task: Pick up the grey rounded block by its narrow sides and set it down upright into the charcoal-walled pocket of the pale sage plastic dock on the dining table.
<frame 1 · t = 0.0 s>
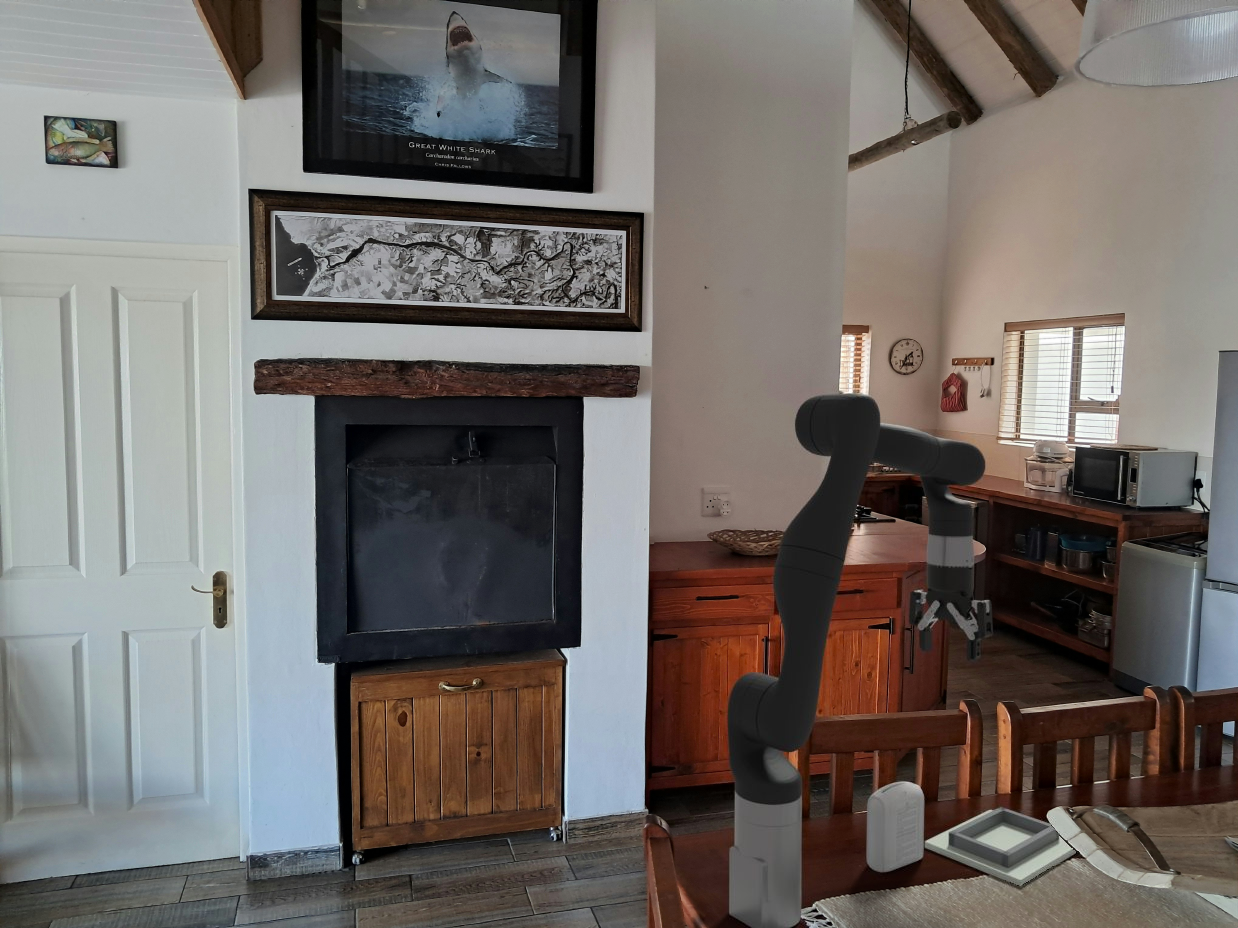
hand: (949, 656, 151), 29 cm above the table, tool pointing down, fingers open, 8 cm apart
grey rounded block: (895, 863, 139), on the table
dock: (1004, 847, 144), on the table
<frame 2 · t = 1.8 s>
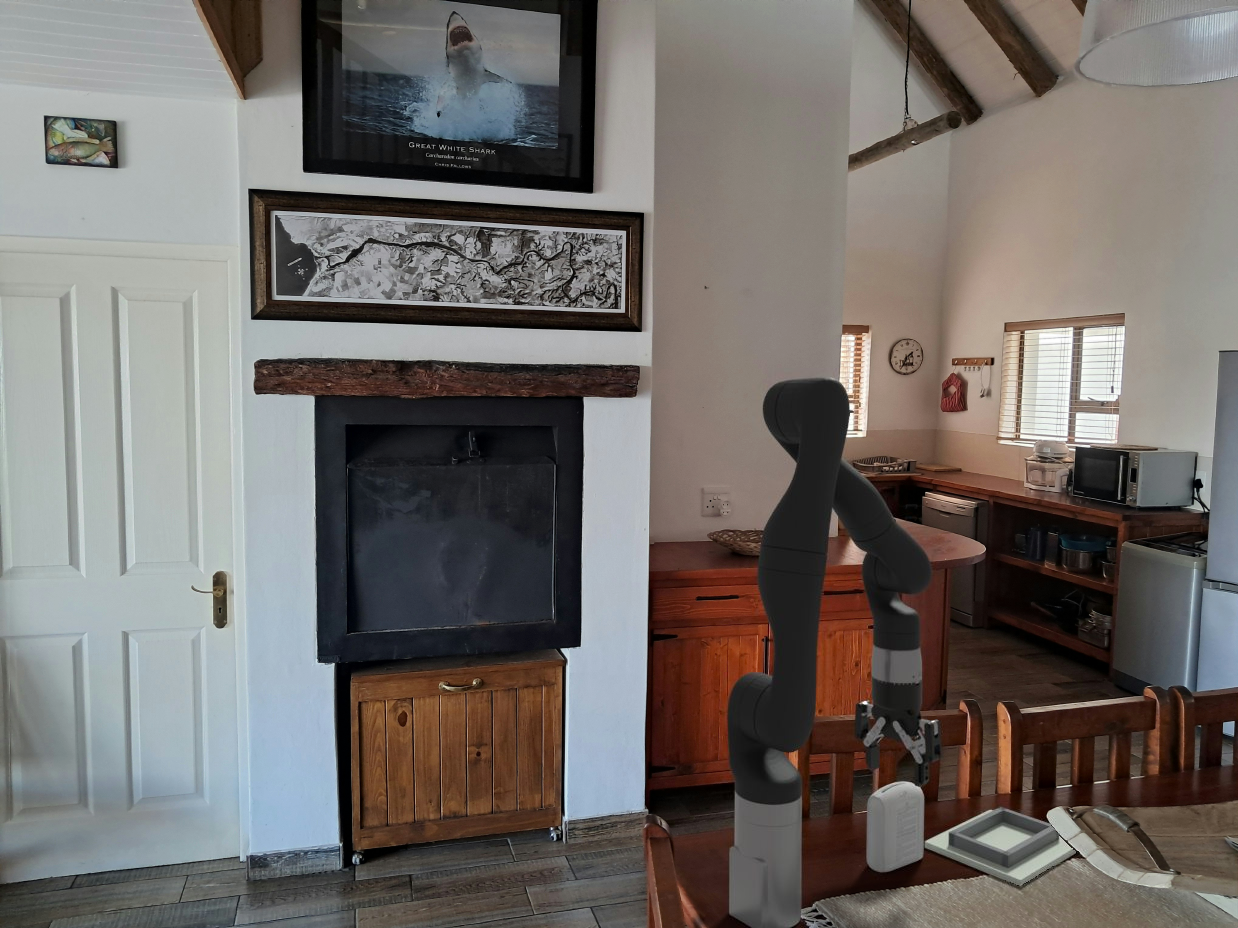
hand: (896, 776, 139), 13 cm above the table, tool pointing down, fingers open, 8 cm apart
nothing on the table moved.
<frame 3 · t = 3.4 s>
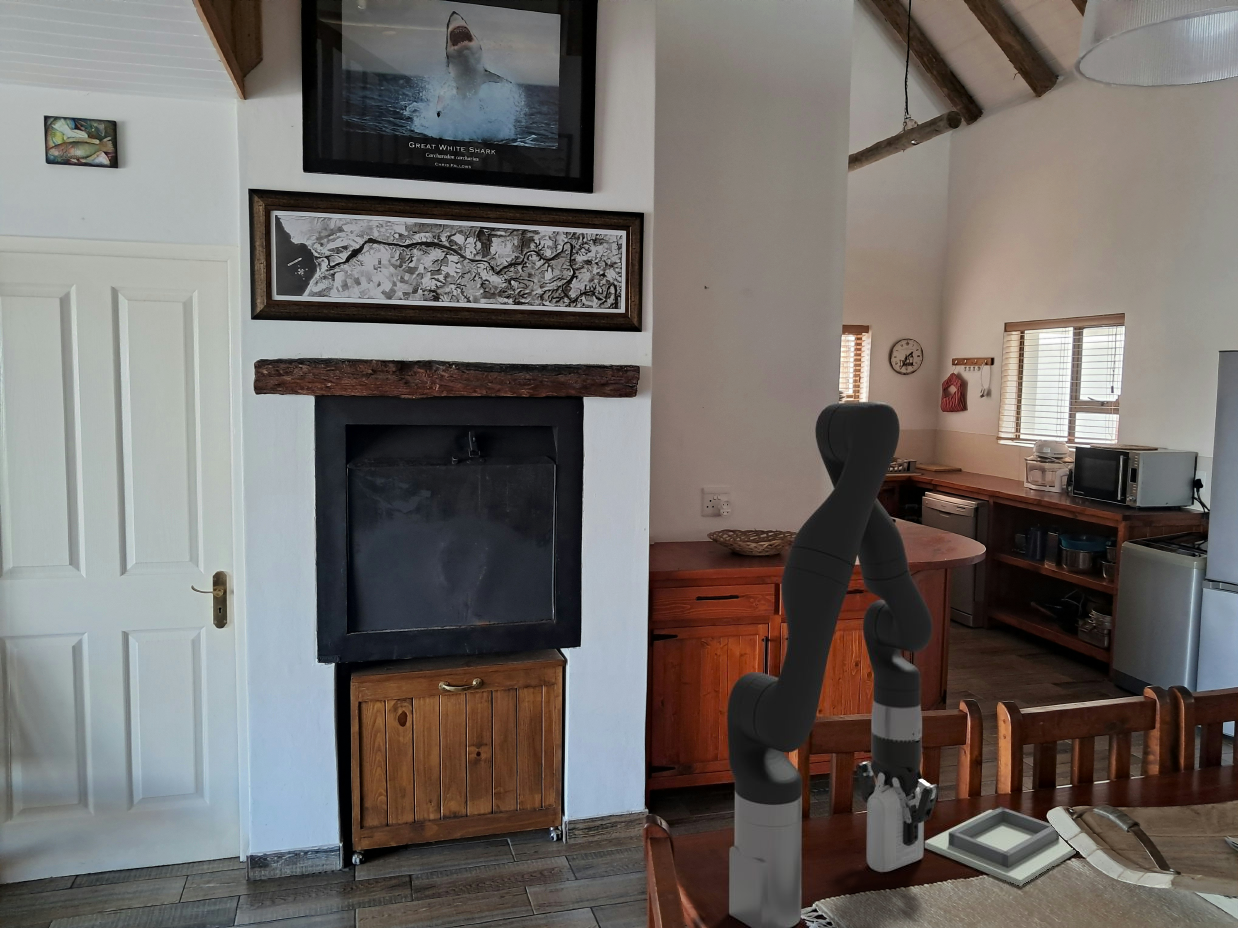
hand: (895, 837, 139), 4 cm above the table, tool pointing down, fingers closed on grey rounded block, 4 cm apart
grey rounded block: (895, 863, 139), on the table, touching gripper
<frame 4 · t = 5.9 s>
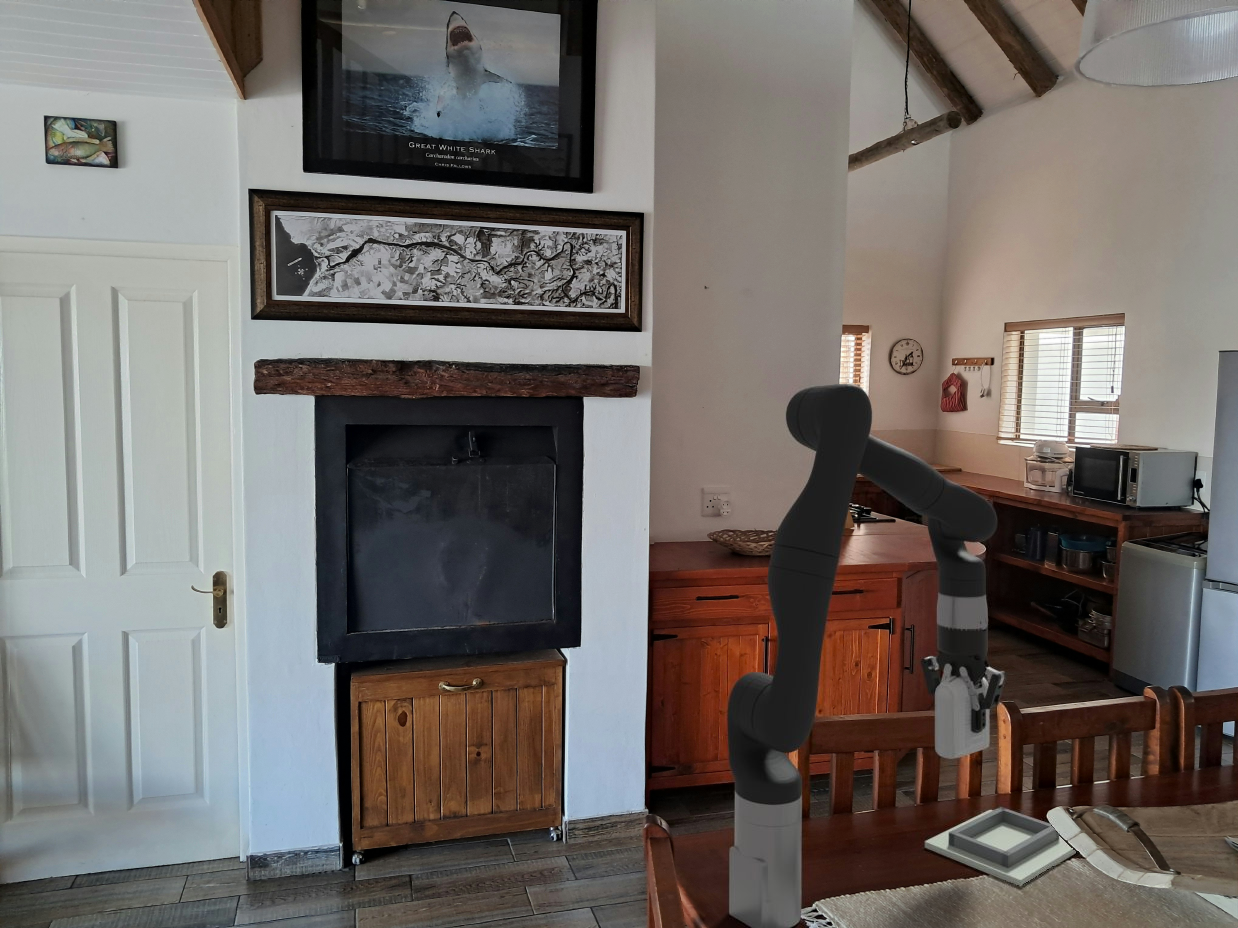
hand: (962, 727, 142), 20 cm above the table, tool pointing down, fingers closed on grey rounded block, 4 cm apart
grey rounded block: (962, 752, 142), point 16 cm above the table, touching gripper
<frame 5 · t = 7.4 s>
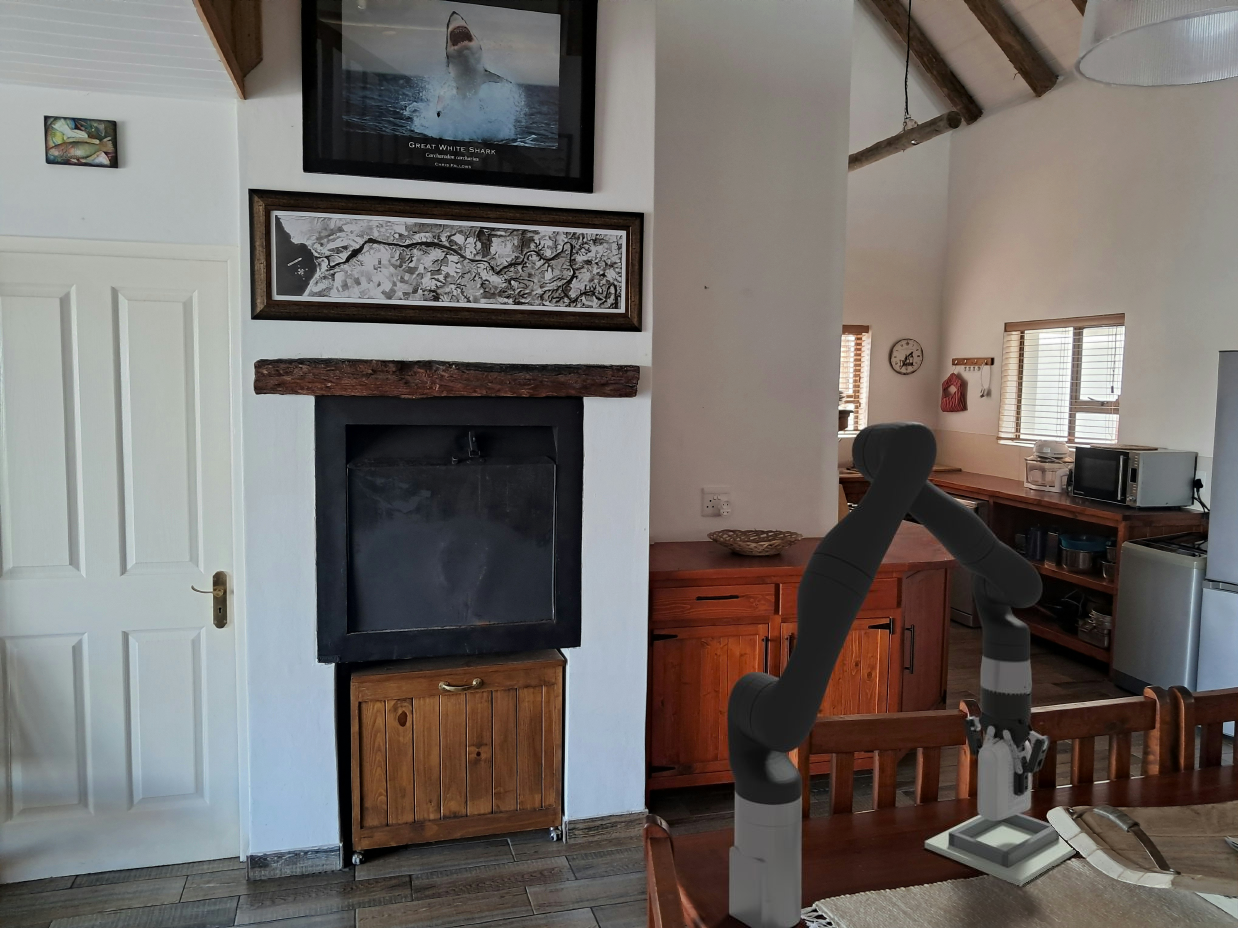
hand: (1004, 788, 144), 10 cm above the table, tool pointing down, fingers closed on grey rounded block, 4 cm apart
grey rounded block: (1004, 813, 144), point 6 cm above the table, touching gripper
when the fingers open (6 cm above the table, at t = 8.6 s): grey rounded block stays where it is, resting on dock.
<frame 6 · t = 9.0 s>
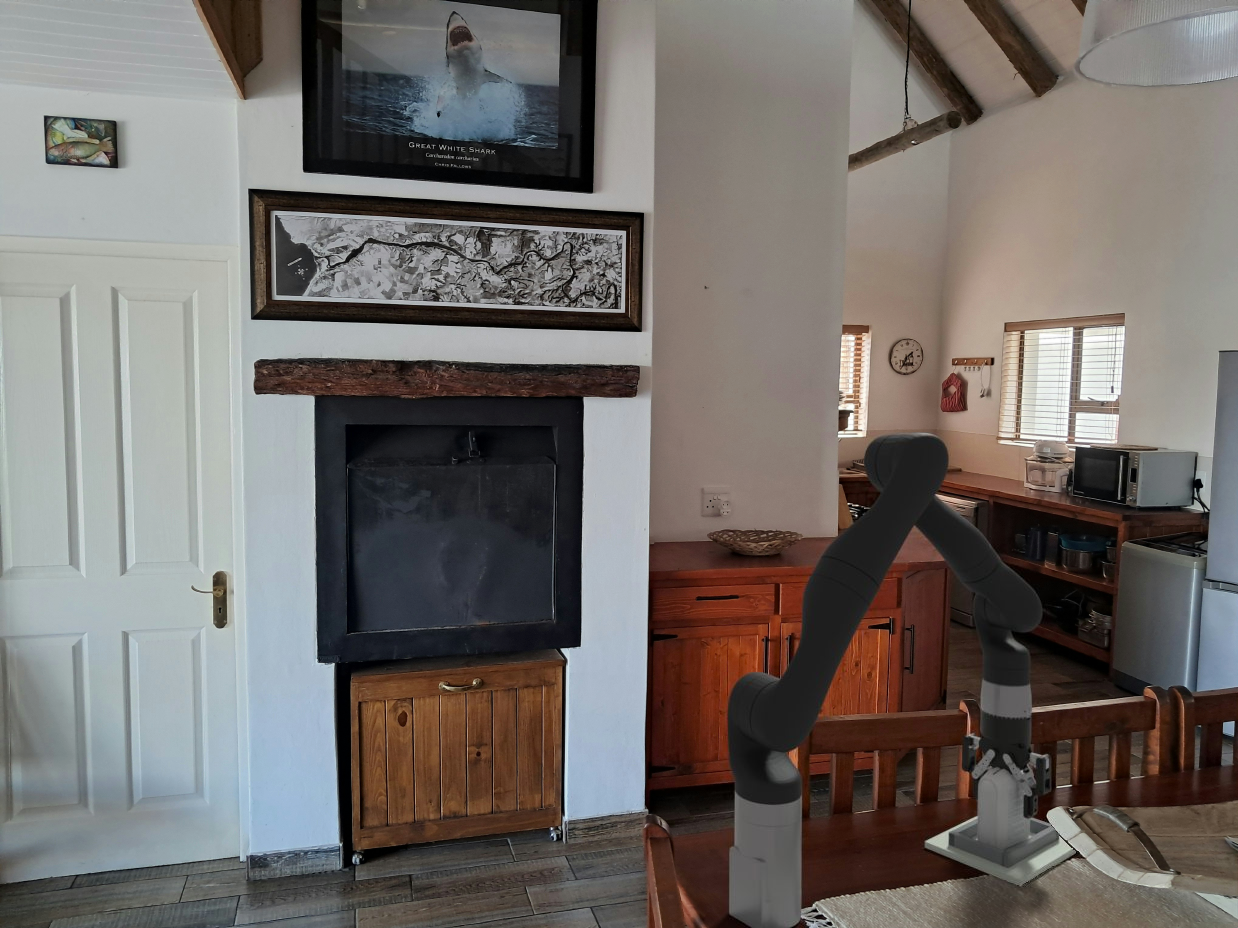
hand: (1004, 808, 144), 6 cm above the table, tool pointing down, fingers open, 7 cm apart
grey rounded block: (1003, 842, 144), point 1 cm above the table, touching dock
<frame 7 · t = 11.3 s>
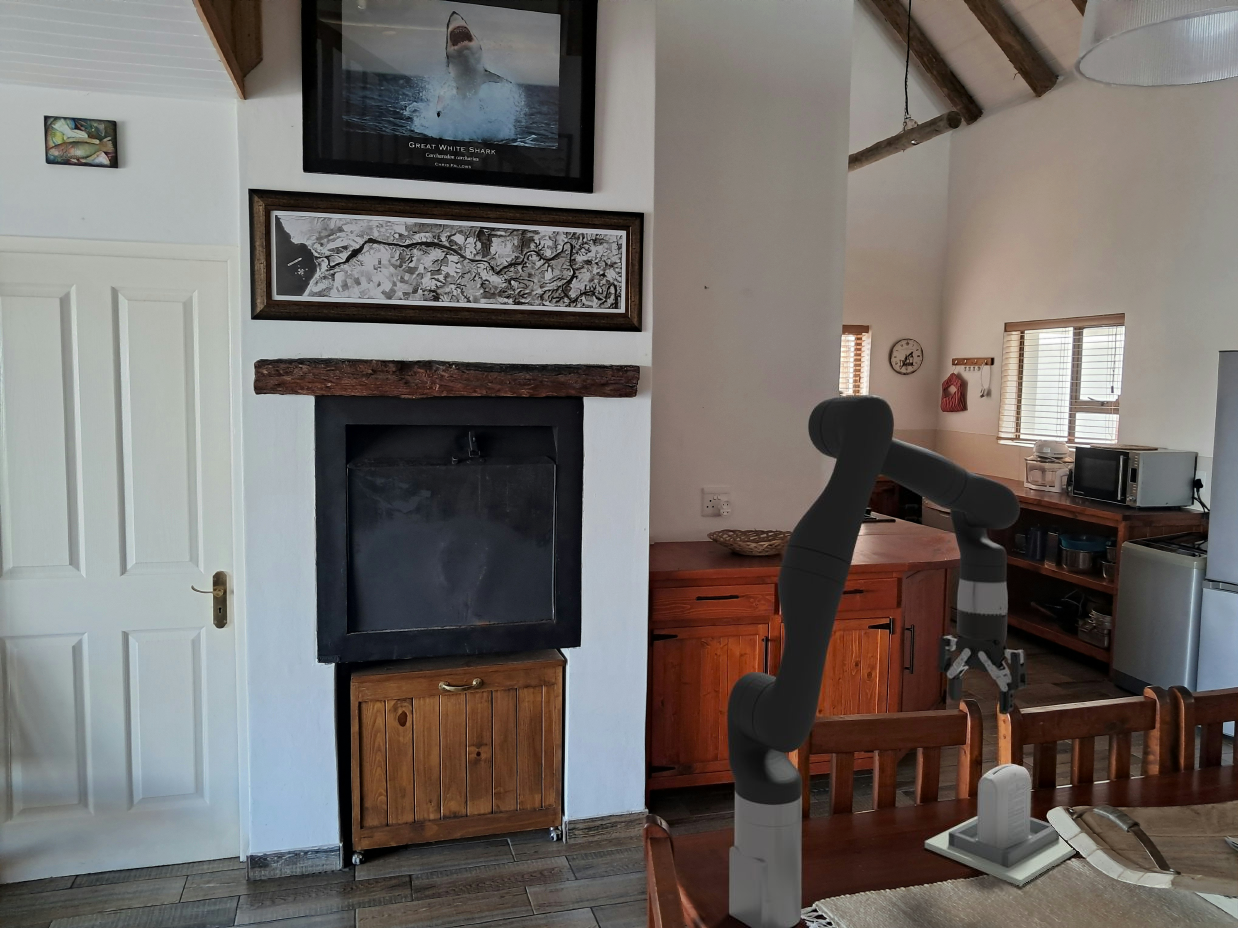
hand: (979, 706, 144), 23 cm above the table, tool pointing down, fingers open, 8 cm apart
nothing on the table moved.
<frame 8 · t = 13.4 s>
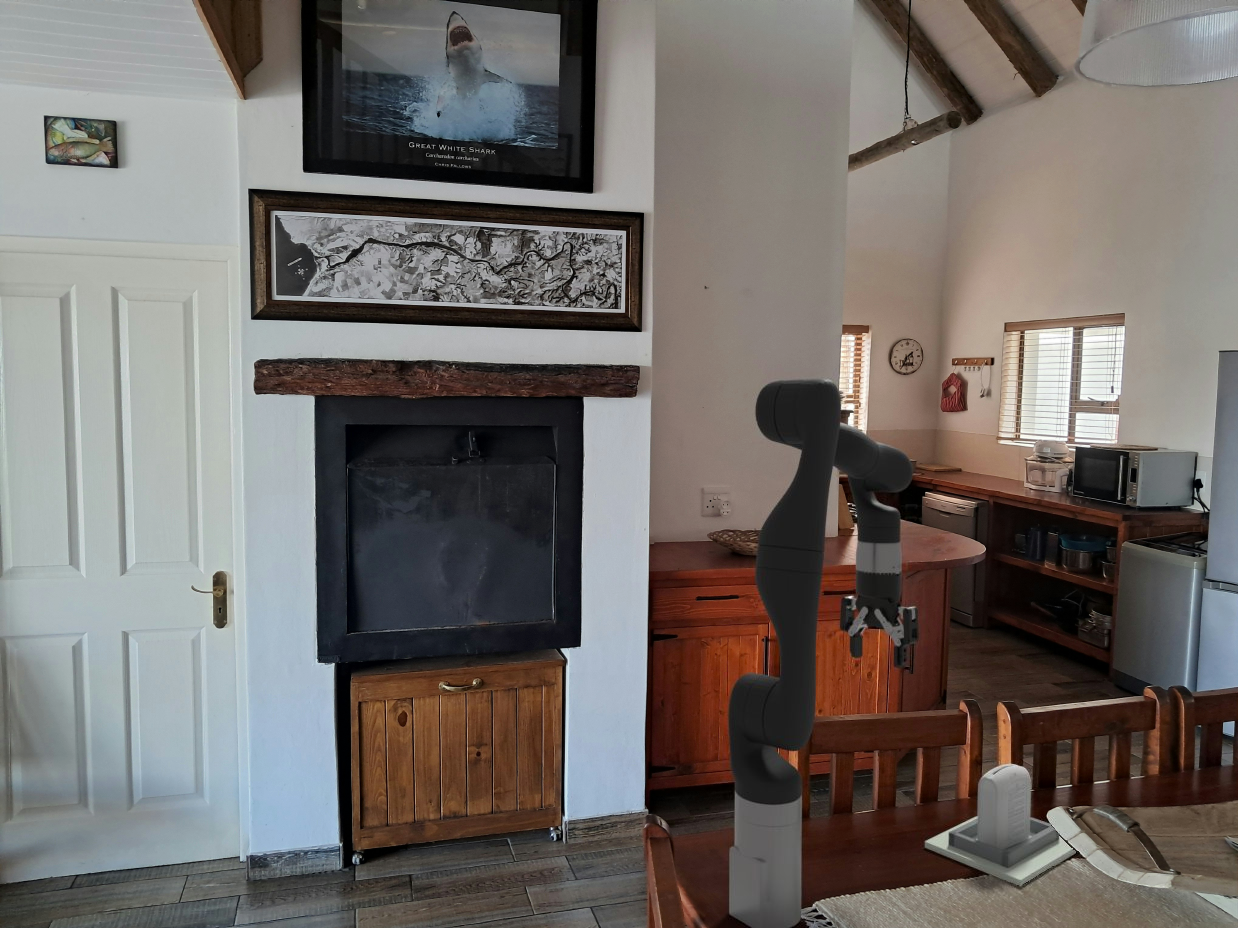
hand: (877, 662, 152), 28 cm above the table, tool pointing down, fingers open, 8 cm apart
nothing on the table moved.
at the end: grey rounded block 0.1 cm off-centre on the dock, point 0.8 cm above the dock's base; grey rounded block tilted 0°; the gripper is holding nothing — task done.
